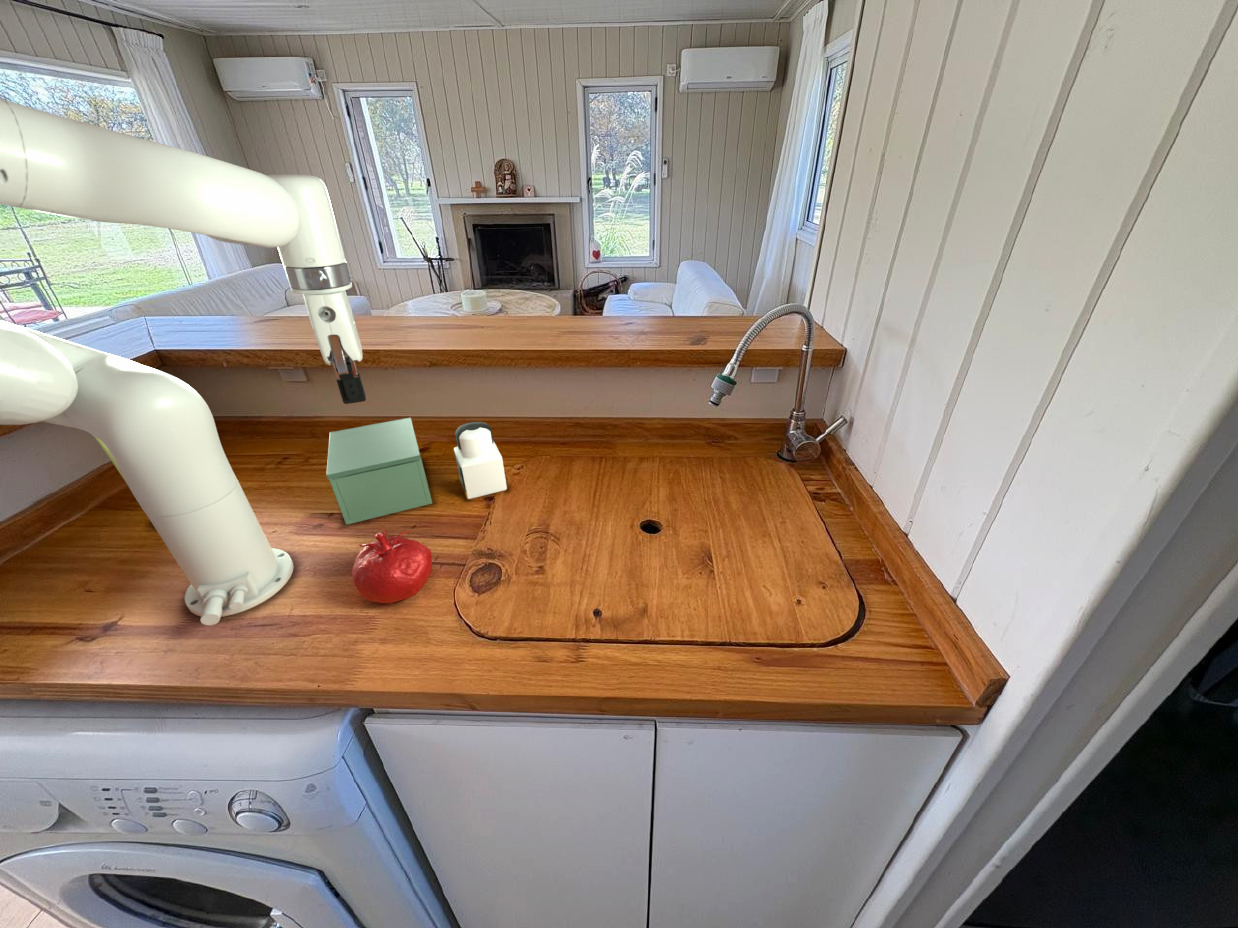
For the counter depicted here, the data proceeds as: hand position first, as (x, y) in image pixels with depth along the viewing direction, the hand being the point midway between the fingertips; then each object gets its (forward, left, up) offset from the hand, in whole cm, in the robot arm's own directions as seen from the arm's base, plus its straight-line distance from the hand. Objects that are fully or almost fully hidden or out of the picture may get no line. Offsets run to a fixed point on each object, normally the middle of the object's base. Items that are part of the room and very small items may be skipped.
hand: (355, 400), depth 78 cm
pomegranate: (-24, 0, -19) cm, 30 cm away
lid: (+2, 0, -10) cm, 10 cm away
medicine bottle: (-4, -16, -19) cm, 25 cm away
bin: (+2, 0, -19) cm, 19 cm away
